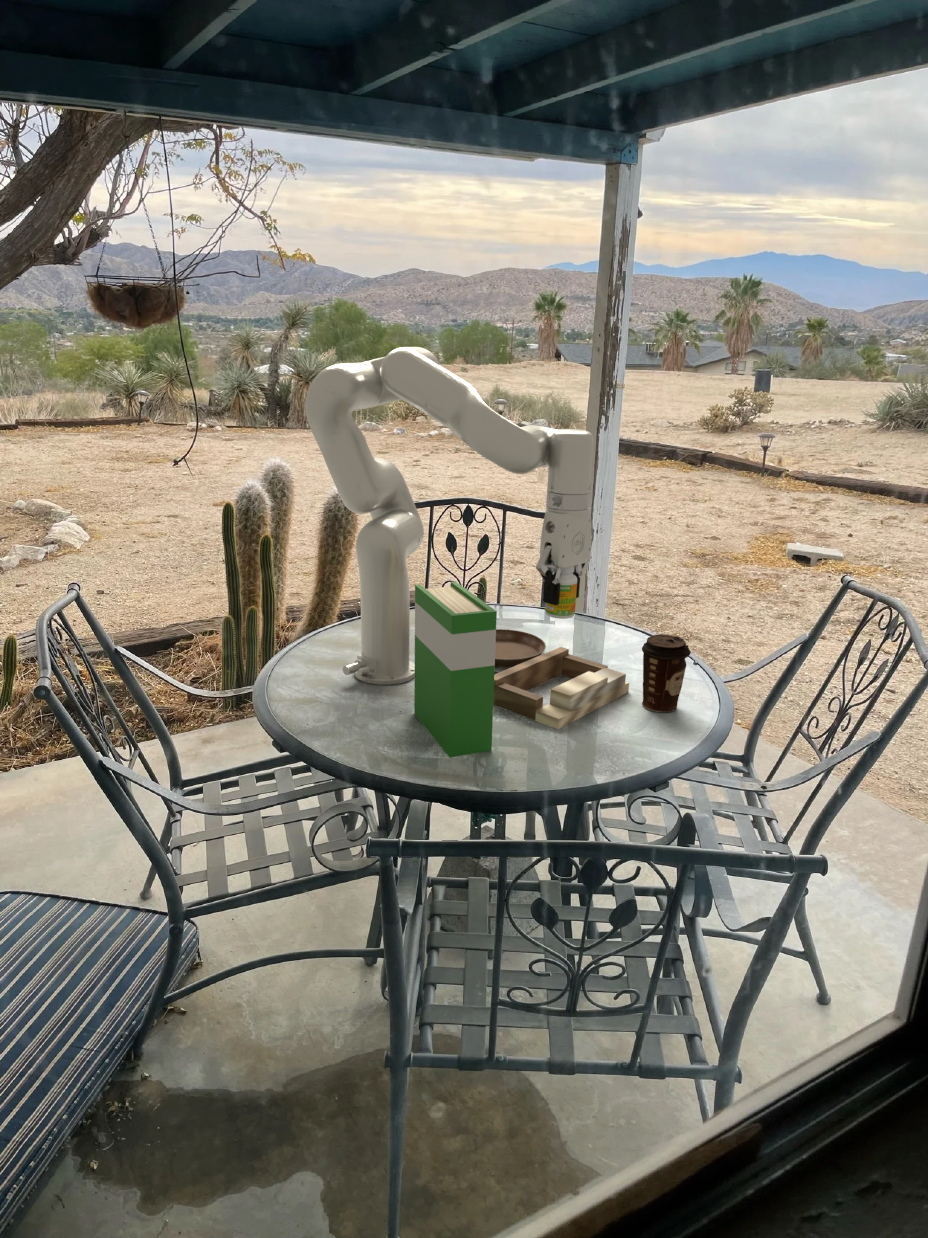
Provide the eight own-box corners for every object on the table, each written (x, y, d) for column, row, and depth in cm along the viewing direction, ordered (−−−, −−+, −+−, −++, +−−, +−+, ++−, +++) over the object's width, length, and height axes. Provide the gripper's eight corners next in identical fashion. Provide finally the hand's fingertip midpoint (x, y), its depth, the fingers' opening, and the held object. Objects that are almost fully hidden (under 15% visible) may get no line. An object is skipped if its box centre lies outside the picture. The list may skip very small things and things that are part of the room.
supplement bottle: (555, 620, 152) (559, 568, 149) (539, 612, 157) (542, 561, 154) (580, 617, 155) (584, 565, 152) (564, 608, 159) (567, 558, 156)
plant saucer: (548, 672, 173) (549, 658, 172) (461, 670, 173) (461, 656, 172) (542, 643, 190) (542, 630, 189) (462, 641, 190) (463, 628, 189)
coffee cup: (686, 701, 160) (693, 636, 156) (682, 718, 153) (689, 651, 148) (639, 694, 163) (645, 630, 159) (633, 711, 155) (639, 644, 151)
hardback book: (414, 713, 152) (415, 584, 144) (452, 708, 155) (455, 581, 147) (449, 757, 136) (452, 615, 129) (491, 750, 139) (496, 611, 132)
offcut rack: (558, 729, 147) (560, 702, 145) (486, 702, 157) (487, 676, 156) (628, 692, 163) (630, 667, 162) (559, 669, 174) (560, 645, 172)
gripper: (556, 510, 141) (549, 614, 146) (612, 498, 153) (604, 595, 159) (520, 504, 145) (515, 605, 151) (577, 493, 158) (571, 586, 163)
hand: (561, 598), depth 155 cm, fingers closed on supplement bottle, 5 cm apart
